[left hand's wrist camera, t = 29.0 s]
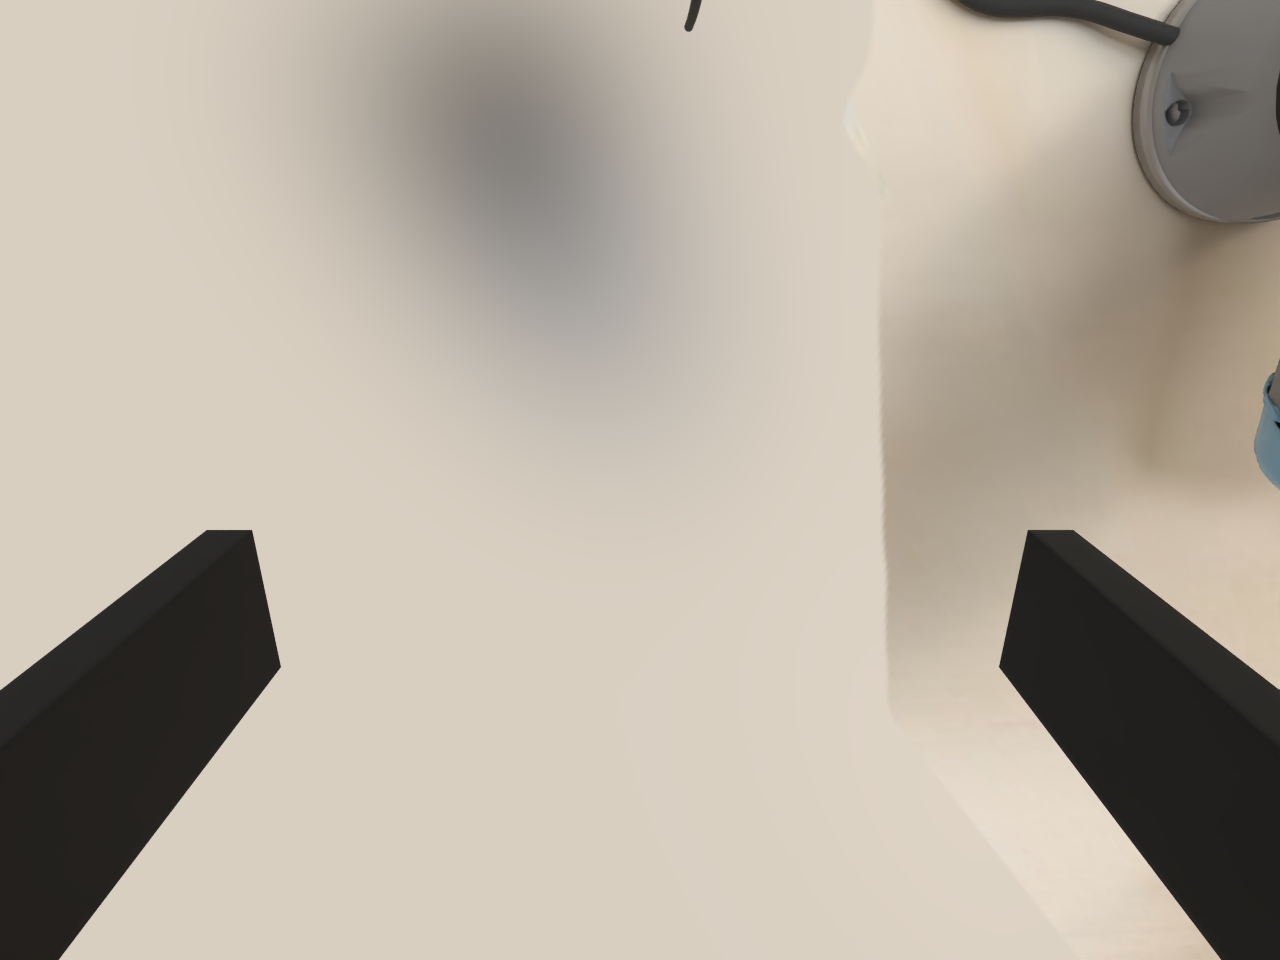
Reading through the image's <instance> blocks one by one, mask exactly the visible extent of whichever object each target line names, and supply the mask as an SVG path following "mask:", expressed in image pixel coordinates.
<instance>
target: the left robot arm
mask: <svg viewBox="0 0 1280 960" xmlns="http://www.w3.org/2000/svg"><path fill="white" fill-rule="evenodd" d="M958 1H960V2H961V3H963V4H964V5H965V6H967V7H969V8H972V9H974V10H976V11H978V12H981V13H984V14H988V15H993V16H1000V17H1032V16H1065V17H1073V18H1078V19H1083V20H1087V21H1090V22H1094V23H1097V24H1100V25H1103V26H1105V27H1108V28H1111V29H1114V30H1117V31H1119V32H1122V33H1125V34H1129V35H1132V36H1135V37H1138V38H1141V39H1144V40H1147V41H1150V42H1153V44H1152V46H1151V48H1150V50H1149V52H1148V54H1147V57H1146V59H1145V62H1144V64H1143V67H1142V70H1141V74H1140V77H1139V80H1138V84H1137V89H1136V94H1135V100H1134V108H1133V133H1134V141H1135V147H1136V151H1137V155H1138V159H1139V161H1140V164H1141V166H1142V169H1143V171H1144V173H1145V175H1146V177H1147V179H1148V180H1149V182H1150V183H1151V185H1152V186H1153V188H1154V189H1155V190H1156V191H1157V192H1158V194H1159V195H1160V196H1161V197H1162V198H1163V199H1165V200H1166V201H1167V202H1168V203H1169V204H1170V205H1172V206H1173V207H1175V208H1176V209H1178V210H1180V211H1182V212H1184V213H1186V214H1188V215H1190V216H1193V217H1196V218H1199V219H1204V220H1208V221H1216V222H1230V223H1258V222H1267V221H1272V220H1277V219H1280V0H1181V1H1180V2H1179V4H1178V5H1177V6H1176V7H1175V9H1174V10H1173V11H1172V12H1171V14H1170V15H1169V17H1168V18H1167V20H1166V21H1165V23H1163V22H1160V21H1157V20H1154V19H1151V18H1148V17H1145V16H1142V15H1138V14H1135V13H1132V12H1129V11H1127V10H1124V9H1121V8H1118V7H1115V6H1112V5H1109V4H1106V3H1103V2H1100V1H1096V0H958ZM701 2H702V0H691V3H690V8H689V12H688V16H687V20H686V22H685V25H684V28H685V30H686V31H687V32H690V31H692V29H693V27H694V24H695V22H696V19H697V16H698V13H699V9H700V6H701ZM1263 394H1264V399H1263V402H1264V408H1263V411H1262V415H1261V418H1260V422H1259V425H1258V429H1257V433H1256V436H1255V441H1254V450H1255V454H1256V456H1257V461H1258V462H1259V467H1260V469H1261V470H1262V472H1263V473H1264V474H1265V476H1266V477H1267V478H1268V479H1269V480H1270V481H1271V482H1272V483H1273V484H1274V485H1275V486H1276V487H1277V488H1278V489H1279V490H1280V360H1279V363H1278V366H1277V369H1276V372H1275V373H1273V374H1271V375H1270V376H1269V378H1268V380H1267V381H1266V383H1265V386H1264V390H1263ZM280 668H281V665H280V660H279V656H278V651H277V646H276V642H275V637H274V632H273V627H272V623H271V618H270V613H269V608H268V603H267V599H266V594H265V589H264V585H263V580H262V575H261V570H260V566H259V561H258V556H257V551H256V547H255V542H254V537H253V532H252V530H206V531H205V532H204V533H203V534H201V535H200V536H199V537H197V538H196V539H195V540H193V541H192V542H191V543H190V544H188V545H187V546H186V547H184V548H183V549H182V550H181V551H179V552H178V553H177V554H175V555H174V556H173V557H172V558H170V559H169V560H168V561H166V562H165V563H164V564H162V565H161V566H160V567H159V568H157V569H156V570H155V571H153V572H152V573H151V574H150V575H148V576H147V577H146V578H144V579H143V580H142V581H141V582H139V583H138V584H137V585H135V586H134V587H133V588H132V589H130V590H129V591H128V592H127V593H125V594H124V595H123V596H121V597H120V598H119V599H117V600H116V601H115V602H114V603H112V604H111V605H110V606H108V607H107V608H106V609H105V610H103V611H102V612H101V613H99V614H98V615H97V616H95V617H94V618H93V619H92V620H90V621H89V622H88V623H86V624H85V625H84V626H83V627H81V628H80V629H79V630H78V631H76V632H75V633H74V634H72V635H71V636H70V637H68V638H67V639H66V640H65V641H63V642H62V643H61V644H59V645H58V646H57V647H56V648H54V649H53V650H52V651H50V652H49V653H48V654H47V655H45V656H44V657H43V658H41V659H40V660H39V661H37V662H36V663H35V664H34V665H32V666H31V667H30V668H29V669H27V670H26V671H25V672H23V673H22V674H21V675H20V676H18V677H17V678H16V679H14V680H13V681H12V682H10V683H9V684H8V685H7V686H5V687H4V688H3V689H1V690H0V960H59V959H60V957H61V956H62V955H63V953H64V952H65V951H66V949H67V948H68V947H69V945H70V944H71V943H72V941H73V940H74V939H75V937H76V936H77V935H78V934H79V932H80V931H81V930H82V928H83V927H84V926H85V924H86V923H87V922H88V920H89V919H90V918H91V916H92V915H93V914H94V912H95V911H96V910H97V908H98V907H99V906H100V905H101V903H102V902H103V901H104V899H105V898H106V897H107V895H108V894H109V893H110V891H111V890H112V889H113V888H114V886H115V885H116V884H117V882H118V881H119V880H120V878H121V877H122V876H123V874H124V873H125V872H126V870H127V869H128V868H129V866H130V865H131V864H132V862H133V861H134V860H135V859H136V857H137V856H138V855H139V853H140V852H141V851H142V849H143V848H144V847H145V845H146V844H147V843H148V841H149V840H150V839H151V837H152V836H153V835H154V833H155V832H156V831H157V829H158V828H159V827H160V826H161V824H162V823H163V822H164V820H165V819H166V818H167V816H168V815H169V814H170V812H171V811H172V810H173V808H174V807H175V806H176V805H177V803H178V802H179V801H180V799H181V798H182V797H183V795H184V794H185V793H186V791H187V790H188V789H189V787H190V786H191V785H192V783H193V782H194V781H195V779H196V778H197V777H198V776H199V774H200V773H201V772H202V770H203V769H204V768H205V766H206V765H207V764H208V762H209V761H210V760H211V758H212V757H213V756H214V754H215V753H216V752H217V750H218V749H219V748H220V747H221V745H222V744H223V743H224V741H225V740H226V739H227V737H228V736H229V735H230V733H231V732H232V731H233V729H234V728H235V727H236V725H237V724H238V723H239V722H240V720H241V719H242V718H243V716H244V715H245V714H246V712H247V711H248V710H249V708H250V707H251V706H252V704H253V703H254V702H255V700H256V699H257V698H258V697H259V695H260V694H261V693H262V691H263V690H264V689H265V687H266V686H267V685H268V683H269V682H270V681H271V679H272V678H273V677H274V675H275V674H276V673H277V671H278V670H279V669H280ZM999 668H1000V669H1001V670H1002V671H1003V673H1004V674H1005V675H1006V677H1007V678H1008V679H1009V681H1010V682H1011V683H1012V685H1013V686H1014V687H1015V689H1016V690H1017V691H1018V693H1019V694H1020V695H1021V697H1022V698H1023V699H1024V700H1025V702H1026V703H1027V704H1028V706H1029V707H1030V708H1031V710H1032V711H1033V712H1034V714H1035V715H1036V716H1037V718H1038V719H1039V720H1040V722H1041V723H1042V724H1043V725H1044V727H1045V728H1046V729H1047V731H1048V732H1049V733H1050V735H1051V736H1052V737H1053V739H1054V740H1055V741H1056V743H1057V744H1058V745H1059V747H1060V748H1061V749H1062V751H1063V752H1064V753H1065V754H1066V756H1067V757H1068V758H1069V760H1070V761H1071V762H1072V764H1073V765H1074V766H1075V768H1076V769H1077V770H1078V772H1079V773H1080V774H1081V776H1082V777H1083V778H1084V779H1085V781H1086V782H1087V783H1088V785H1089V786H1090V787H1091V789H1092V790H1093V791H1094V793H1095V794H1096V795H1097V797H1098V798H1099V799H1100V801H1101V802H1102V803H1103V805H1104V806H1105V807H1106V808H1107V810H1108V811H1109V812H1110V814H1111V815H1112V816H1113V818H1114V819H1115V820H1116V822H1117V823H1118V824H1119V826H1120V827H1121V828H1122V830H1123V831H1124V832H1125V833H1126V835H1127V836H1128V837H1129V839H1130V840H1131V841H1132V843H1133V844H1134V845H1135V847H1136V848H1137V849H1138V851H1139V852H1140V853H1141V855H1142V856H1143V857H1144V859H1145V860H1146V861H1147V862H1148V864H1149V865H1150V866H1151V868H1152V869H1153V870H1154V872H1155V873H1156V874H1157V876H1158V877H1159V878H1160V880H1161V881H1162V882H1163V884H1164V885H1165V886H1166V888H1167V889H1168V890H1169V891H1170V893H1171V894H1172V895H1173V897H1174V898H1175V899H1176V901H1177V902H1178V903H1179V905H1180V906H1181V907H1182V909H1183V910H1184V911H1185V913H1186V914H1187V915H1188V916H1189V918H1190V919H1191V920H1192V922H1193V923H1194V924H1195V926H1196V927H1197V928H1198V930H1199V931H1200V932H1201V934H1202V935H1203V936H1204V938H1205V939H1206V940H1207V942H1208V943H1209V944H1210V945H1211V947H1212V948H1213V949H1214V951H1215V952H1216V953H1217V955H1218V956H1219V957H1220V959H1221V960H1280V690H1279V689H1277V688H1276V687H1275V686H1273V685H1272V684H1271V683H1270V682H1268V681H1267V680H1266V679H1264V678H1263V677H1262V676H1261V675H1259V674H1258V673H1257V672H1255V671H1254V670H1253V669H1252V668H1250V667H1249V666H1248V665H1246V664H1245V663H1244V662H1243V661H1241V660H1240V659H1239V658H1237V657H1236V656H1235V655H1234V654H1232V653H1231V652H1230V651H1228V650H1227V649H1226V648H1224V647H1223V646H1222V645H1221V644H1219V643H1218V642H1217V641H1215V640H1214V639H1213V638H1212V637H1210V636H1209V635H1208V634H1206V633H1205V632H1204V631H1203V630H1201V629H1200V628H1199V627H1197V626H1196V625H1195V624H1194V623H1192V622H1191V621H1190V620H1188V619H1187V618H1186V617H1185V616H1183V615H1182V614H1181V613H1179V612H1178V611H1177V610H1176V609H1174V608H1173V607H1172V606H1170V605H1169V604H1168V603H1166V602H1165V601H1164V600H1163V599H1161V598H1160V597H1159V596H1157V595H1156V594H1155V593H1154V592H1152V591H1151V590H1150V589H1148V588H1147V587H1146V586H1145V585H1143V584H1142V583H1141V582H1139V581H1138V580H1137V579H1136V578H1134V577H1133V576H1132V575H1130V574H1129V573H1128V572H1127V571H1125V570H1124V569H1123V568H1121V567H1120V566H1119V565H1118V564H1116V563H1115V562H1114V561H1112V560H1111V559H1110V558H1108V557H1107V556H1106V555H1105V554H1103V553H1102V552H1101V551H1099V550H1098V549H1097V548H1096V547H1094V546H1093V545H1092V544H1090V543H1089V542H1088V541H1087V540H1085V539H1084V538H1083V537H1081V536H1080V535H1079V534H1078V533H1076V532H1075V531H1074V530H1028V532H1027V537H1026V542H1025V547H1024V551H1023V556H1022V561H1021V566H1020V570H1019V575H1018V580H1017V584H1016V589H1015V594H1014V599H1013V603H1012V608H1011V613H1010V618H1009V622H1008V627H1007V632H1006V637H1005V641H1004V646H1003V651H1002V656H1001V660H1000V665H999Z"/></svg>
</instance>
